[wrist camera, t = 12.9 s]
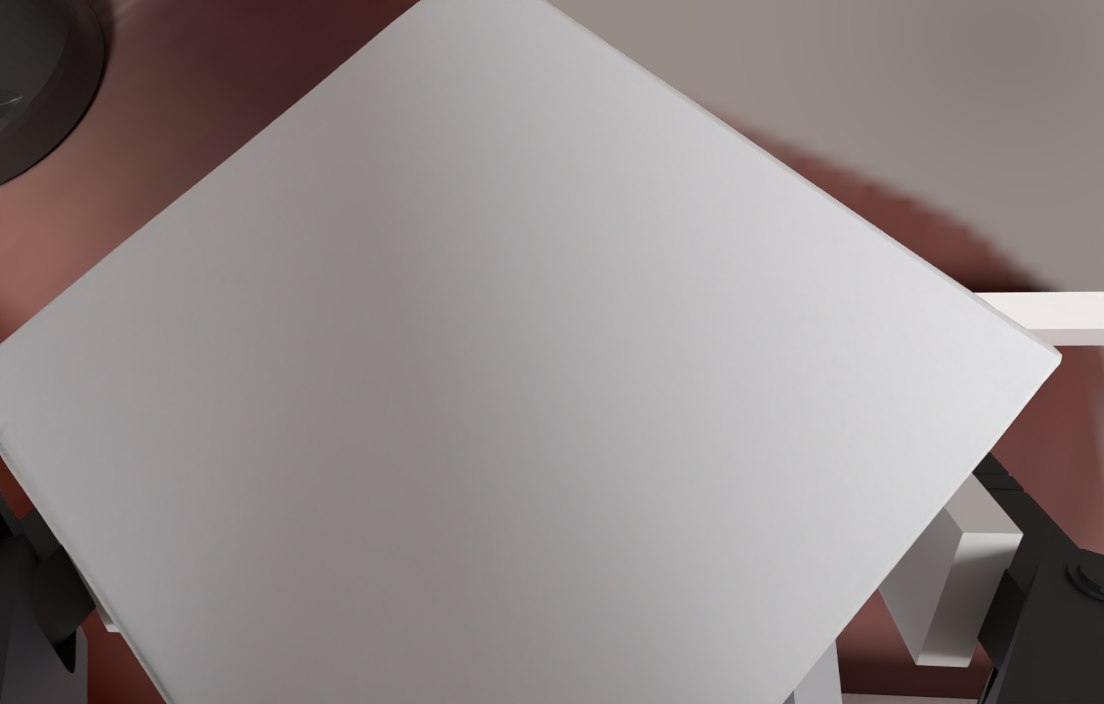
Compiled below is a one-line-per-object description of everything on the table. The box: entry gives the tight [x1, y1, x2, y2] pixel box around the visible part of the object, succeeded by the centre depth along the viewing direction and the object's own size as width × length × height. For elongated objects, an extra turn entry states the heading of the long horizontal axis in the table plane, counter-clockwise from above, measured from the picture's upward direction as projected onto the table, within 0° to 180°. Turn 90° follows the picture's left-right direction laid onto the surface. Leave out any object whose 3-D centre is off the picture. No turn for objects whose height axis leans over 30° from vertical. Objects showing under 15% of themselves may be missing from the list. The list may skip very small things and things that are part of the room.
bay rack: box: [783, 292, 1104, 704], centre depth 23 cm, size 16×32×2 cm, turn 89°
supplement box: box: [0, 0, 1062, 704], centre depth 14 cm, size 10×9×17 cm
